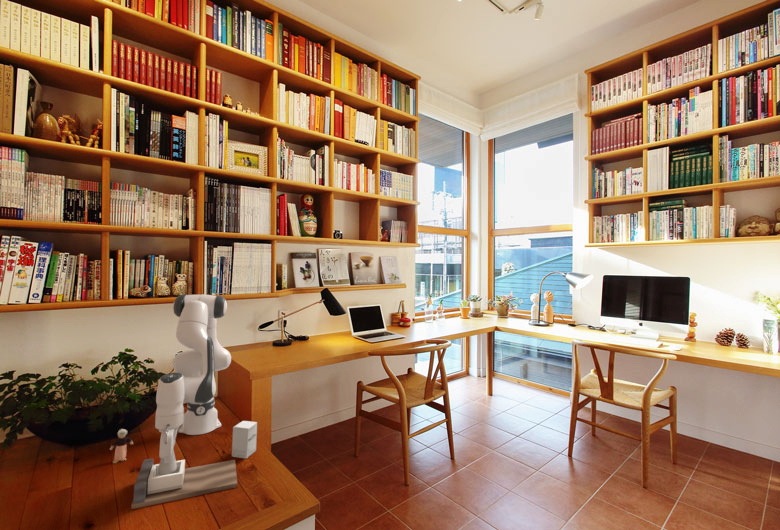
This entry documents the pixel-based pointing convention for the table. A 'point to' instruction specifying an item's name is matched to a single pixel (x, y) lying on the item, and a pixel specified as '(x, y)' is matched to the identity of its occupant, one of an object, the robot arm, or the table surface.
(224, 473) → the board
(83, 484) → the table surface
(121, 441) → the grandmother figurine
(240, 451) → the supplement box
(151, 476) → the frame
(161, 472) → the salt shaker
